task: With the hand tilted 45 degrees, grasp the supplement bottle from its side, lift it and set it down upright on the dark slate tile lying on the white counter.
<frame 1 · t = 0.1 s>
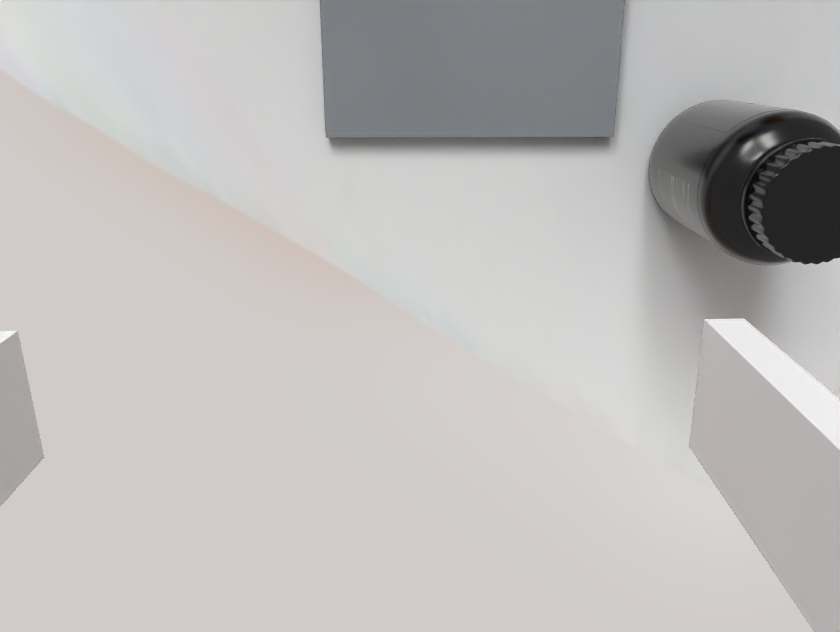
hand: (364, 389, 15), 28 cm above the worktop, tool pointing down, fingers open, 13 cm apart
supplement bottle: (708, 162, 41), on the worktop
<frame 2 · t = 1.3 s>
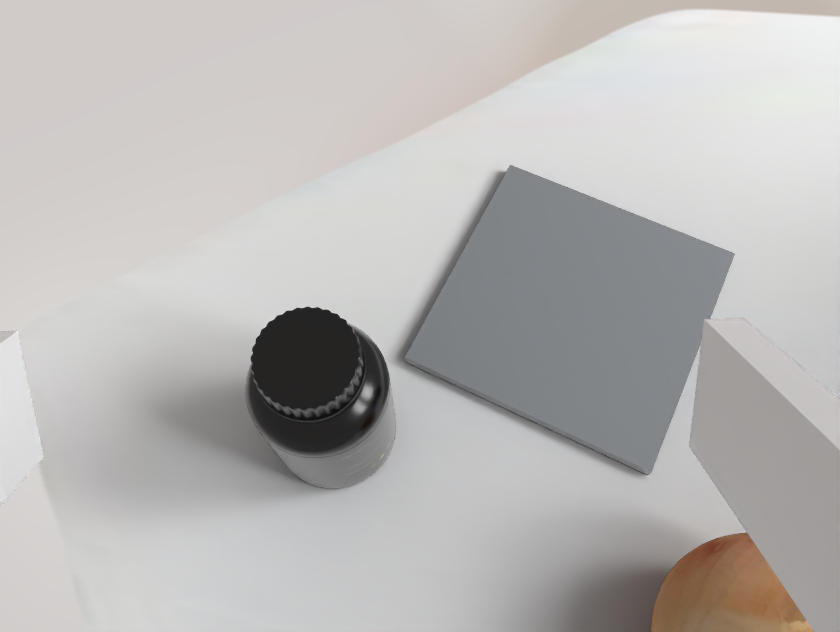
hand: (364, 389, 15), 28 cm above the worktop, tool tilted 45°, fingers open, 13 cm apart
supplement bottle: (337, 433, 44), on the worktop
slate tile: (571, 309, 46), on the worktop
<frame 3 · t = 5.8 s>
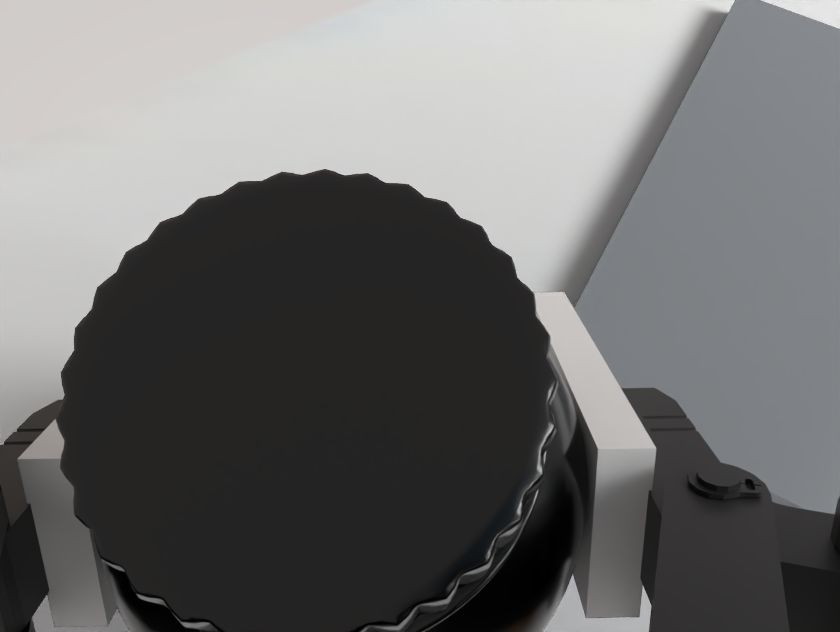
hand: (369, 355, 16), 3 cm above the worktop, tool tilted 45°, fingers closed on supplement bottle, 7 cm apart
supplement bottle: (376, 550, 18), on the worktop, touching gripper
when the fingers open (6 cm above the worktop, at t = 10.5 s): supplement bottle drops 1 cm, resting on slate tile.
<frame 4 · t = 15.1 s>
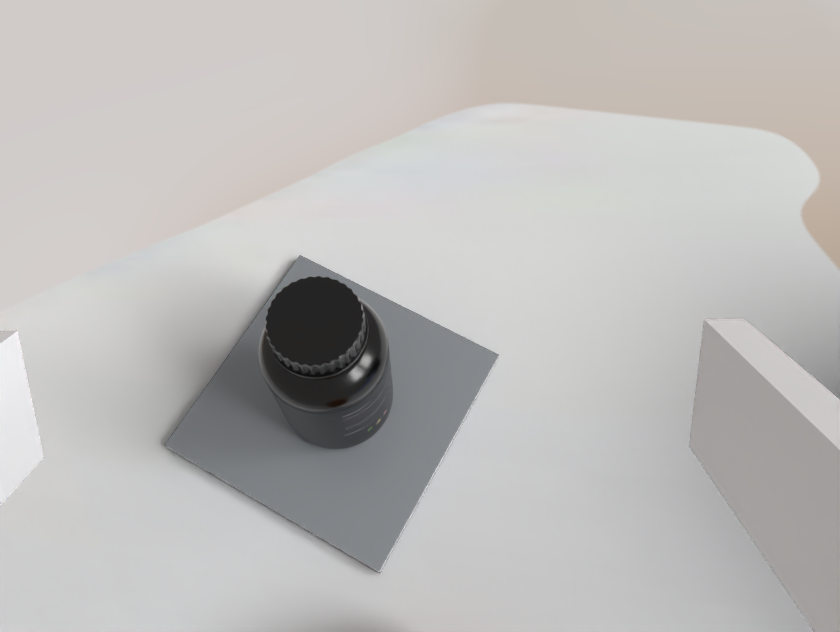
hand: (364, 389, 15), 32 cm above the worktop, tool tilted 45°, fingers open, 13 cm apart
supplement bottle: (339, 400, 47), point 1 cm above the worktop, touching slate tile
slate tile: (337, 402, 48), on the worktop
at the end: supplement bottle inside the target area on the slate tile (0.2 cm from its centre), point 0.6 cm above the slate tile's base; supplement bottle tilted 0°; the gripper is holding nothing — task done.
